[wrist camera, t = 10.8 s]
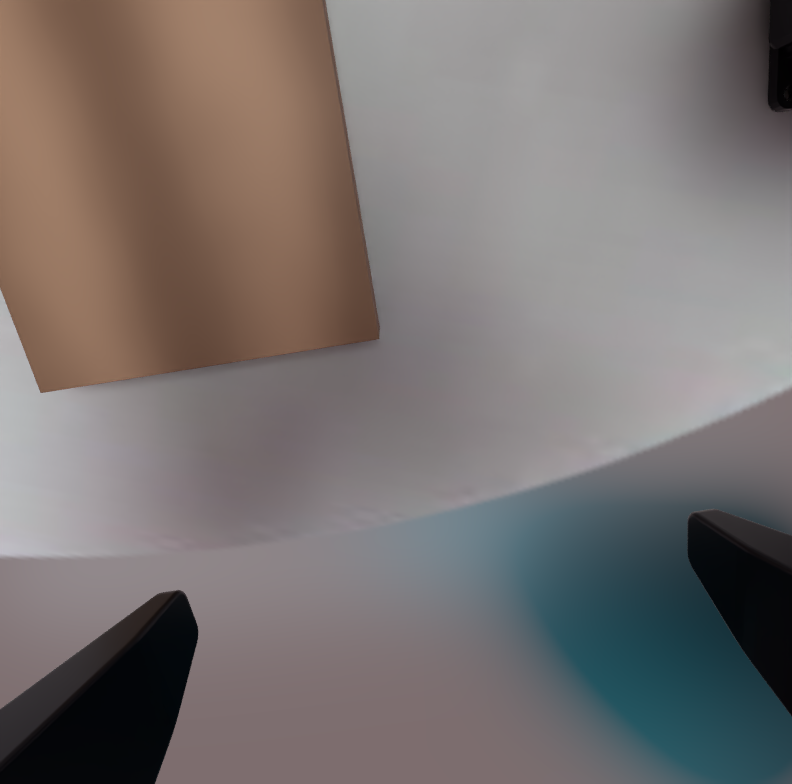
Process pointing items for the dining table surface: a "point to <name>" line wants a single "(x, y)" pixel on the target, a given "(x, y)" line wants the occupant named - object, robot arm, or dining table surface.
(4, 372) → the dining table surface
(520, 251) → the dining table surface
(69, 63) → the walnut riser block
